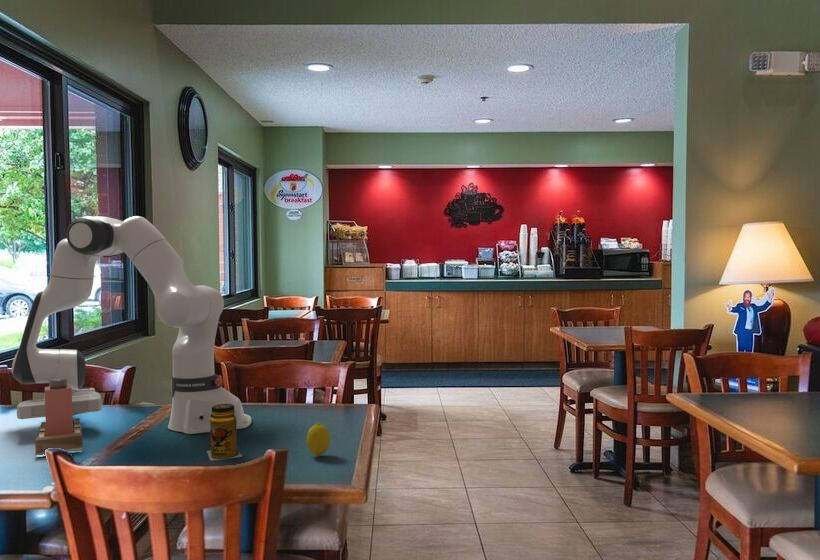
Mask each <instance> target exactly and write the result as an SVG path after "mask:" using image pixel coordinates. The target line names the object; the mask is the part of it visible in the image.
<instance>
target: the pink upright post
mask: <svg viewBox="0 0 820 560" xmlns="http://www.w3.org/2000/svg"><path fill="white" fill-rule="evenodd" d="M48 384H49V385H48V386H50V387H48V386H45V387H44V394H45V415H46V417H45V422H46V436H54V435H63V434H72V433H73V426H74V424H73V422H74V421H73V420H74V418H73V417H74V416H73V413H72V385H67V379H66V378H57V379H51V380H49V383H48Z"/></svg>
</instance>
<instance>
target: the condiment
mask: <svg viewBox="0 0 820 560" xmlns="http://www.w3.org/2000/svg"><path fill="white" fill-rule="evenodd" d="M211 410H212V414H211V415H212V417H211V419H210V432H209V434H210V435H209V436H210V450H207V451H206V454H207V455H208V458H209V460H210V461H211V462H212V461H222V460H229V459H235V458H241V457H243V455H242V454H241V452H240V450H239V447H238V434H237V433H238V432H237V431H238V429H237V425H236V424H237V423H236V416H235V415H234V413H235V411H234V405H232V404H219V405H215V406H213V407H212V409H211Z"/></svg>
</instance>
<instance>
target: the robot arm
mask: <svg viewBox="0 0 820 560" xmlns="http://www.w3.org/2000/svg"><path fill="white" fill-rule="evenodd" d="M66 229H67V230H66V234H65V235H66V236H65V237H66V238H63V239H62V240H61V239H60V241H59V242H58V243H57V244H56V248H55V250H54V255H53V258H52V263H51V270H50V277H49V281H48V283H47V285H46V287H45V288H44V290H42V291H40V292H38V293H37V294H36V295H35V297H34V299H33V301H32V304H31V308H30V310H29V313H28V316H27V320H26V324H25V327H24V331H23V332H22V333H23V334H22V337H21V341H20V344H19V348H18V349H17V352H16V353H15V356H14V357H13V359H12V364H11V374H12V377H13V378H14V379H15V380H16V381H17V382H19V383H20V384H22V385H34V384H49V380H51V379H57V378H66V379H67V385H72V413H73V417H74V416H76V415H79V414H86V413H95V412H101V411H102V410H103V402H102V396H101V394H100V393H99V392H98V391H96V389H95V388H94V387H83V386H84V384H85V382H86V373H87V372H86V371H87V367H86V366H87V365H86V359H85V356H84V355H83V353H82V352H81V351H79V350H78V349H65V348H64V349H63V348H59V349H58V348H57V349H53V348H52V349H51V348H39V347H38V346H37V343H38V341H39V340H38V339H39V336H40V333H41V330H42V328H43V327H42V326H43V323H44V321H45V319H46V318H48V317H49V316H51V315H53V314H55V313H58V312H63V311H66V310H70V309H73V308H76V307H78V306H80V305H82V304H84V303H85V302H86V301H87V300H88V299H89V298H90V296H91V294H92V290H93V285H94V277H95V267H96V264H97V263H96V262H97V261H98V260H99V259H101V258H102V257H103V258H104V259H105V258H106V259H107V258H111V257H116V256H117V257H118V256H121V255H124V254H125V255H126V256H127V257H128V258H129V260H130V261H131V262H132V264H133V266H134V267H135V268H136V270H138V272H139V273H140V275H141V276H142V278H144V280H145V281H146V282H147V284H148V285H149V287H150V289H151V291H152V294H153V296H154V299H155V301H156V314H157V317H158V319H159V321H161V323H163V324H165V325H166V326H168V327H171V328H176V329H177V328H178V329H179V330H178V334H177V338H176V341H175V342H174V344H173V346H172V348H171V349H172V353H171V354H172V356H171V357H172V359H171V360H172V376H171V378H170V379H171V380H170V392H171V393H170V394H171V398H172V400H171V401H172V402H171V403H172V404H171V410H170V417H169V422H168V426H167V429H168V430H171V431H174V432H181V433H184V434H187V435H193V434H202V433H210V419H211V417H212V415H211V414H212V410H211V409H212V407H213V406H215V405H219V404H232V405H234V411H235V413H234V415H235V416H236V423H237V424H236V425H237V430H242V429H246V428H248V427H249V426H250V425H251V424H252V416H250V415H249V414H246V413H244V409H243V404H242V401H241V400H240V398H239V397H237V396H236V395H234V394H233V393H232V392H230V391H228V390H227V389H225V388H224V387H223V382H224V381H223V377H222V376H221V375H220V374H219V375H218V374H217V373H215V343H216V335H217V330H218V326H219V325H218V324H219V321H220V317H221V314H222V313H223V311H224V308H225V300H224V297H223V295H222V293H221V292H220V291H219V290H217V289H216V288H214V287H211V286H208V285H204V284H202V285H200V284H199V285H194V284H192V283H191V281H190V279H189V277H188V276H187V273H186V271H185V262H184V260H183V259H182V258H181V257H180V256H179V254H178V253H177V251H176V250H175V249H174V248H173V247H172V245H171V243H170V242H169V241H168V240H167V238H166V237H165V236H164V235H163V234H162V232H161V231H159V229H158V228H157V227H155V225H153V224H152V223H151V222H150V221H149V220H148V219H147V218H145V217H143V216H139V215H135V216H129V217H128V218H126V219H124V220H123V219H121V218H112V217H108V216H104V215H103V216H101V215H100V216H98V215H97V216H93V215H92V216H91V215H85V216H82V217H81V216H80V217H78V218H75V219H74V220H73V221H71V222H70V224H69V225H68V227H67V228H66ZM47 387H50V386H49V385H48V386H47ZM16 418H17V419H18V420H26V419H27V420H29V419H37V418H46V415H45V393H44V395H43V398H41V399H29V400H23V401H20V403H19V404H17V405H16Z"/></svg>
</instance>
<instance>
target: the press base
mask: <svg viewBox="0 0 820 560" xmlns="http://www.w3.org/2000/svg"><path fill="white" fill-rule="evenodd" d="M80 420H81V419H80V418H74V425H73V433H72V434H63V435H54V436H46V421H43V422H42V421H41V422H40V427H39V428H40V429H39V431H38V432H39V433H38V437H35V439H34V445H35V447H34V449H35V456H36V455H43V454H44V455H45V450H46V449H48V448H61V449H64V450H66V451H82V452H83V432H82V425H81V424H80Z"/></svg>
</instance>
